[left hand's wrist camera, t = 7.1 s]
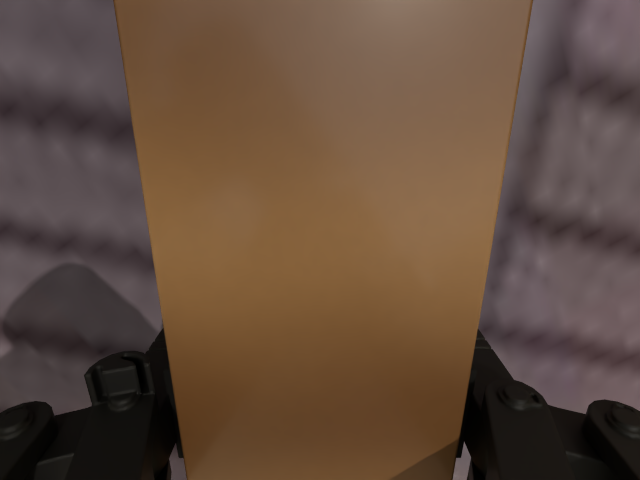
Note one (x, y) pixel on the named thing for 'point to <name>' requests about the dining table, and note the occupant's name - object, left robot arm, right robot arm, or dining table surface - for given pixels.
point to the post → (321, 221)
